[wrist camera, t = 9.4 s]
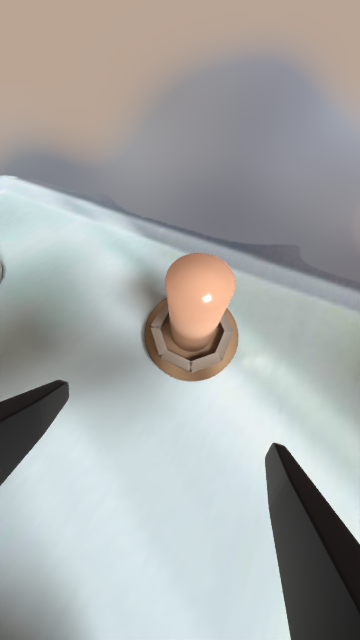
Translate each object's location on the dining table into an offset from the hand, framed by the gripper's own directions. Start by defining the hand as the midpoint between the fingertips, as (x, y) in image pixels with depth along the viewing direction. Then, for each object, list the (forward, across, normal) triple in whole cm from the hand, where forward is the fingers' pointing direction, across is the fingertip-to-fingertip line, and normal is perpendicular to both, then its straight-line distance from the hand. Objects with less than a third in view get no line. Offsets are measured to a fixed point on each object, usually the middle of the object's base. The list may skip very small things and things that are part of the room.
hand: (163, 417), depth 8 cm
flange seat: (+16, 0, +3) cm, 16 cm away
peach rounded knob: (+15, 0, +3) cm, 15 cm away
